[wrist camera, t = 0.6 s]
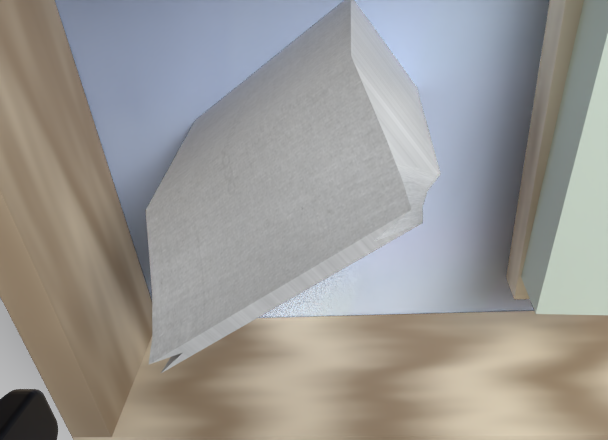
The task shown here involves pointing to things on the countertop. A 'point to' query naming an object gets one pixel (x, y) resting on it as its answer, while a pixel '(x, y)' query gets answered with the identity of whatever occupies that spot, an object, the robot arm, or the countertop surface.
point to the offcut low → (542, 128)
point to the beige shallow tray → (253, 336)
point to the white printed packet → (286, 184)
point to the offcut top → (575, 185)
